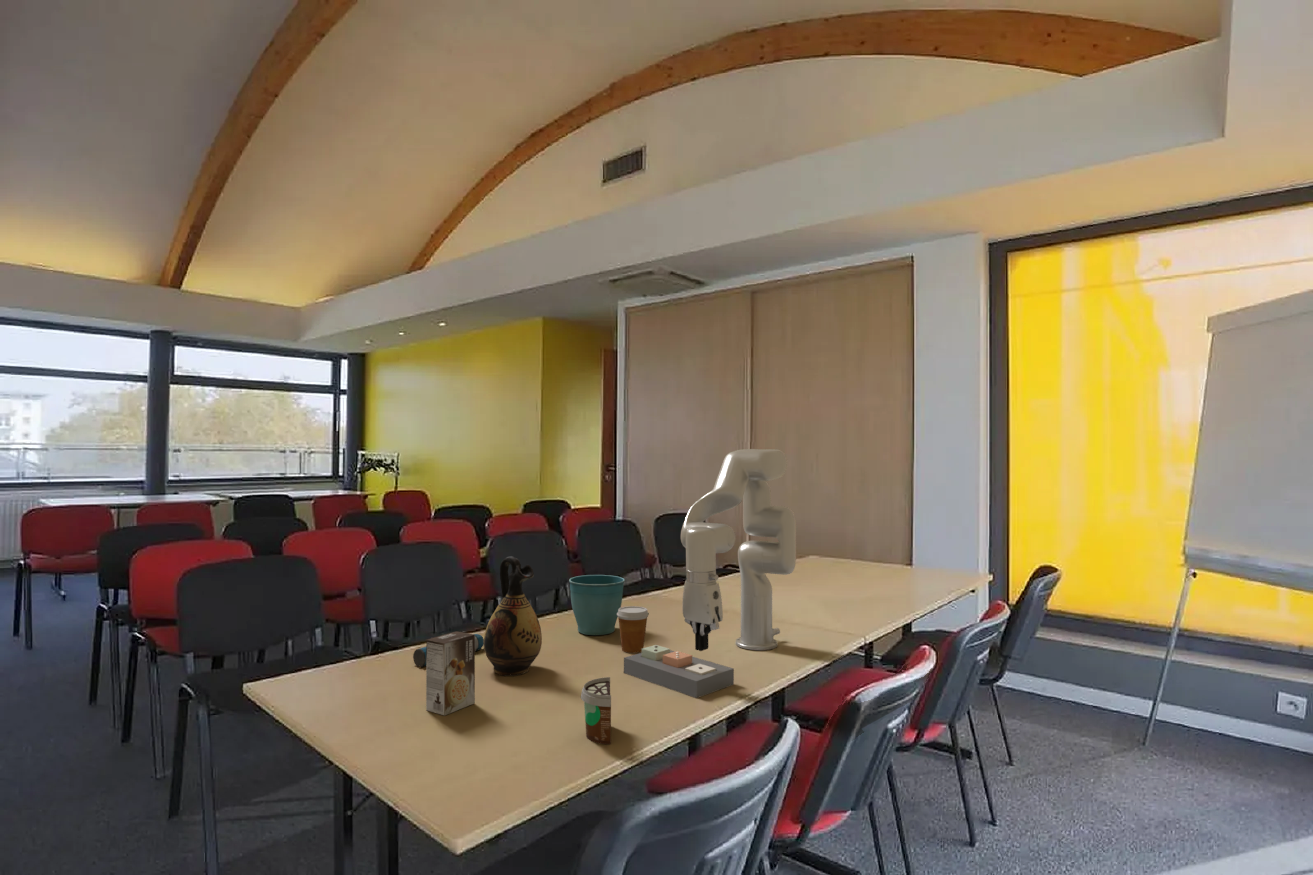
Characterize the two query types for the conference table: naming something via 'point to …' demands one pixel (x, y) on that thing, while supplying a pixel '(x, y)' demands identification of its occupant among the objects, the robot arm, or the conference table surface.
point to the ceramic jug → (513, 624)
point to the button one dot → (700, 669)
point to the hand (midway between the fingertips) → (701, 649)
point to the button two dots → (655, 652)
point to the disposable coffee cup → (632, 628)
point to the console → (680, 675)
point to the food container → (597, 710)
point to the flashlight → (420, 653)
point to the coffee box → (450, 672)
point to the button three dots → (677, 659)
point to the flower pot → (596, 602)
